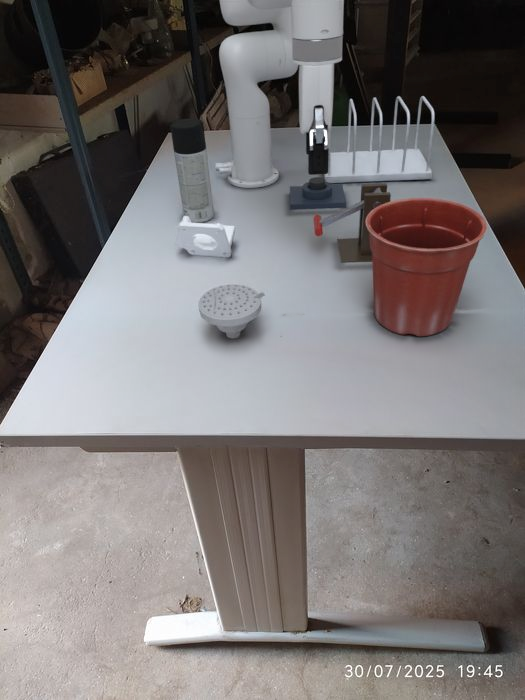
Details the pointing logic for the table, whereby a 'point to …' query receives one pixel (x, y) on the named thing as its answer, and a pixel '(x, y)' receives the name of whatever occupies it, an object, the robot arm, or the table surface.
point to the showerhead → (230, 307)
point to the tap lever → (338, 215)
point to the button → (317, 183)
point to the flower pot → (421, 261)
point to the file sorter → (380, 154)
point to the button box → (317, 197)
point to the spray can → (192, 169)
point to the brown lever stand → (363, 226)
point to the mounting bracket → (205, 238)
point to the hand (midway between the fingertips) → (316, 163)
